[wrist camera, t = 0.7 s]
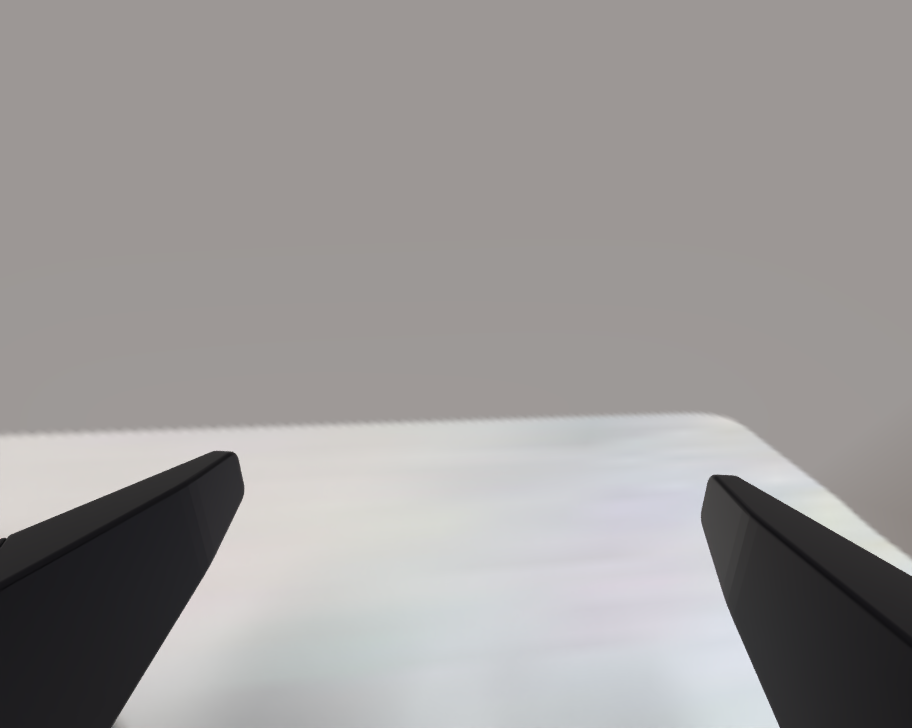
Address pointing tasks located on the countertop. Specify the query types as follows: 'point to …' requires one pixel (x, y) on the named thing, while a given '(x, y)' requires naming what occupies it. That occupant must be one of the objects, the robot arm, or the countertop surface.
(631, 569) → the countertop surface
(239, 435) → the countertop surface
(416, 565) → the countertop surface
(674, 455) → the countertop surface
